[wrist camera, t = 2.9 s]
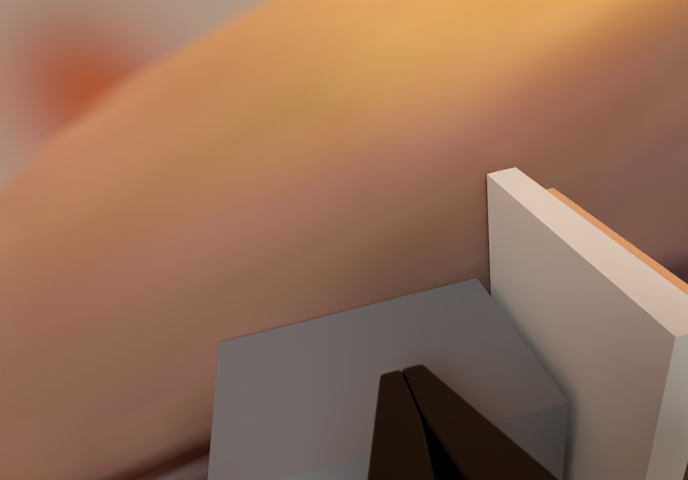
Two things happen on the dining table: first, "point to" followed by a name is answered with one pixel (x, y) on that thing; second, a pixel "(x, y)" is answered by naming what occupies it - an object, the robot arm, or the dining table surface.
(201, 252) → the dining table surface
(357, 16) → the dining table surface
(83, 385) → the dining table surface
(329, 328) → the camera case
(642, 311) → the side door
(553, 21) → the dining table surface
